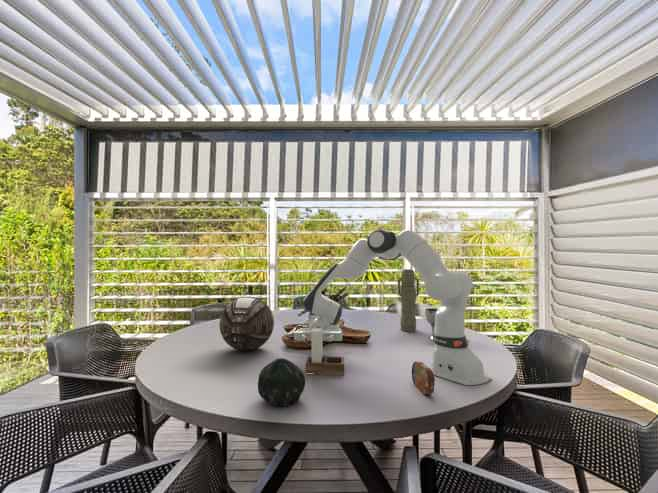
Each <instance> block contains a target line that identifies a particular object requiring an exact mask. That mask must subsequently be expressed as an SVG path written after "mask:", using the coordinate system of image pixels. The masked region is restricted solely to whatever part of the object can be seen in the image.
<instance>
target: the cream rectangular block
mask: <svg viewBox="0 0 658 493" xmlns="http://www.w3.org/2000/svg"><path fill="white" fill-rule="evenodd" d="M310 342H311V343H310V344H311V357H312V363H322V357H323V342H322V328H312V331H311V341H310Z"/></svg>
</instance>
